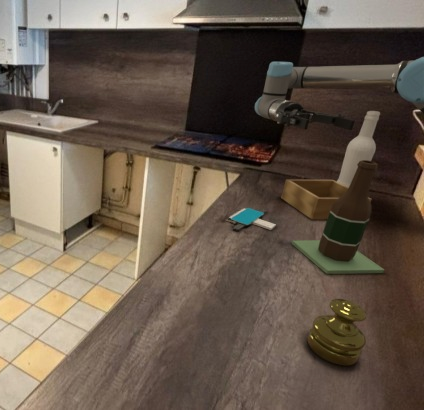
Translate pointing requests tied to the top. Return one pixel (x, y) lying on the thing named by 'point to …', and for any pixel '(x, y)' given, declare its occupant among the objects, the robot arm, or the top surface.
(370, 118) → the bottle
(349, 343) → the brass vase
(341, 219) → the beer bottle
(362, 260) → the mat
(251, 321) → the top surface
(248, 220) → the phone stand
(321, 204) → the open wooden box
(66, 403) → the top surface
